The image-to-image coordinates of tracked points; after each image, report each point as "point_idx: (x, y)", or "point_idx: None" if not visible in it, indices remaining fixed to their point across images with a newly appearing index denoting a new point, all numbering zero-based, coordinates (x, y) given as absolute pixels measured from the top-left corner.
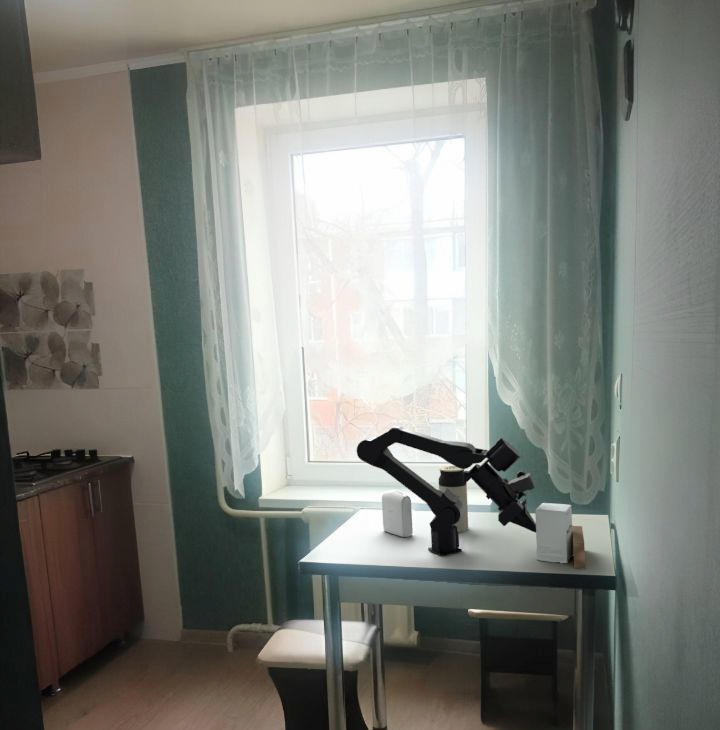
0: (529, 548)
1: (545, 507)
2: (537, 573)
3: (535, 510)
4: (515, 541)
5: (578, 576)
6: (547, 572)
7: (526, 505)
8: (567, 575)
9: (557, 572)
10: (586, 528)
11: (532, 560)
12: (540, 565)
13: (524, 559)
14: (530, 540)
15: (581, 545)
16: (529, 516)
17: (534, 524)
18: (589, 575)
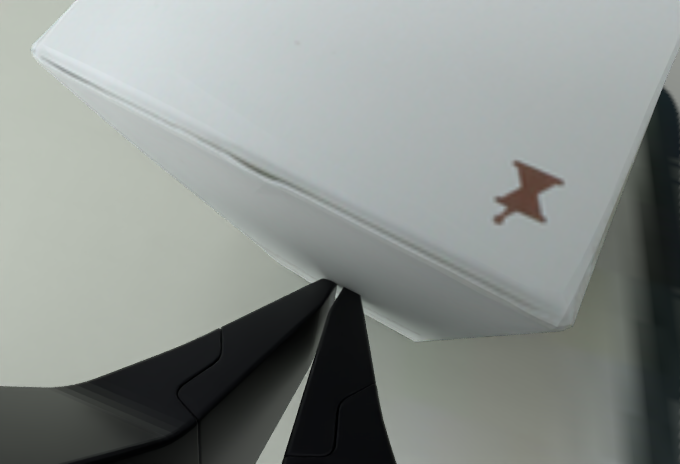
0: (205, 327)
1: (444, 65)
2: (653, 408)
3: (562, 330)
4: (64, 376)
5: (676, 198)
6: (628, 341)
7: (95, 454)
8: (667, 247)
9: (622, 285)
10: (17, 5)
11: (414, 370)
12: (504, 347)
13: (392, 416)
14: (79, 283)
15: None
16: (326, 397)
17: (365, 330)
18: (653, 146)
